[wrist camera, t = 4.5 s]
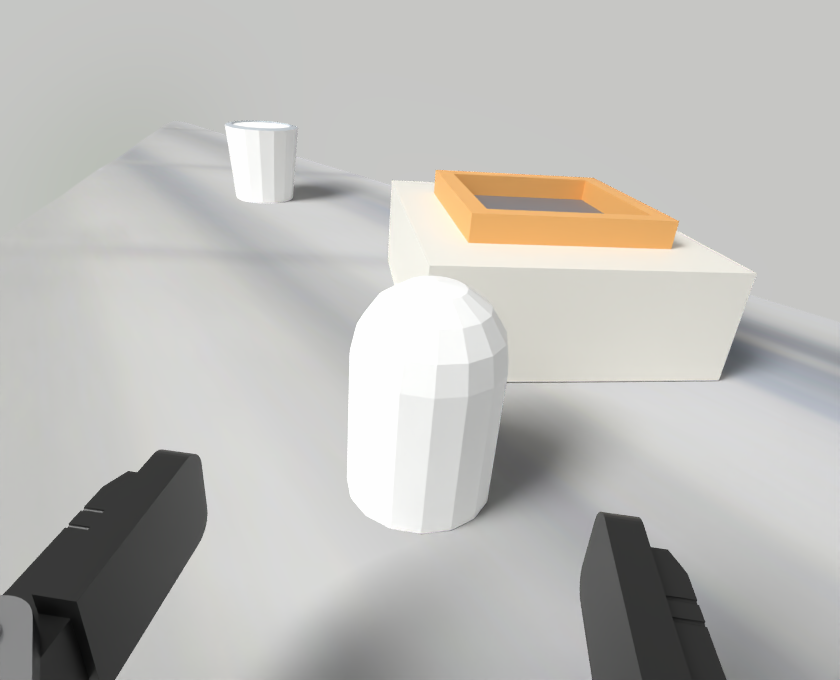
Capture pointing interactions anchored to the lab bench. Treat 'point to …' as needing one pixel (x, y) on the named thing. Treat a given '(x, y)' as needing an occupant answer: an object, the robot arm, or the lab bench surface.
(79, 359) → the lab bench surface
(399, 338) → the capsule
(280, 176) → the white tapered cup
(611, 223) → the plate
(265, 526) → the lab bench surface
